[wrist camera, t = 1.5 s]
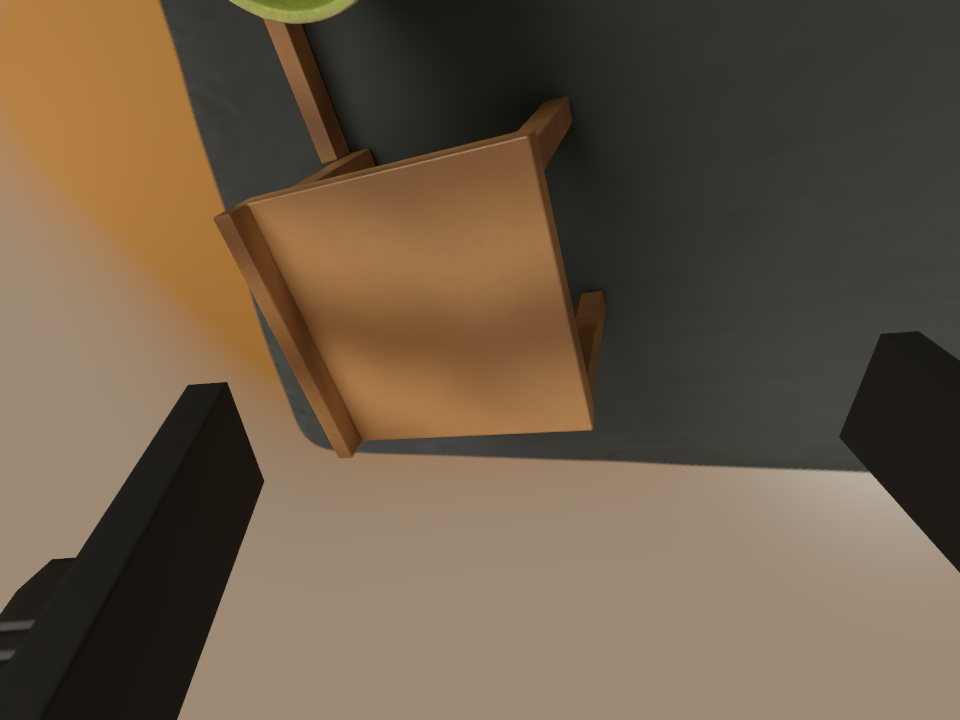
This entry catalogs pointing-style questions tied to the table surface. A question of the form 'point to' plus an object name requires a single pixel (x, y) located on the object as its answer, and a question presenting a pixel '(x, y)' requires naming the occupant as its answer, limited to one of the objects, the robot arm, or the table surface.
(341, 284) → the plant stand
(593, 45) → the table surface
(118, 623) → the robot arm
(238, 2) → the plant pot
